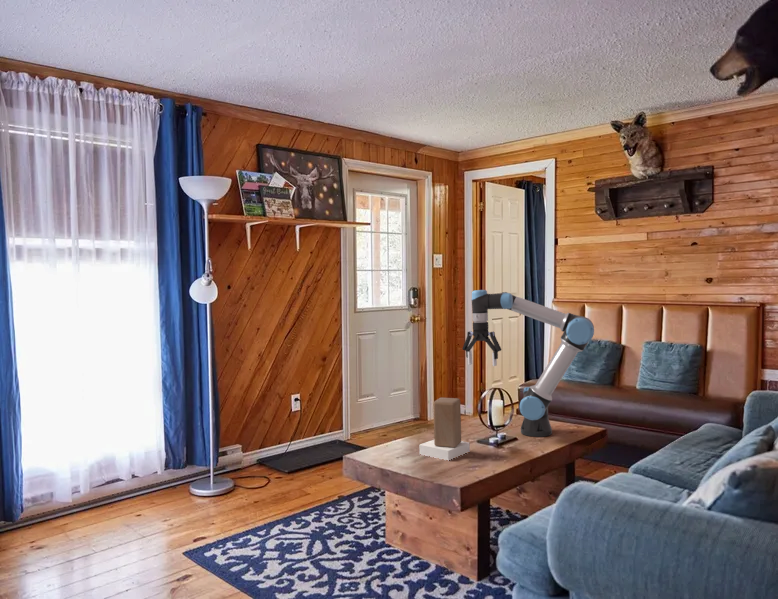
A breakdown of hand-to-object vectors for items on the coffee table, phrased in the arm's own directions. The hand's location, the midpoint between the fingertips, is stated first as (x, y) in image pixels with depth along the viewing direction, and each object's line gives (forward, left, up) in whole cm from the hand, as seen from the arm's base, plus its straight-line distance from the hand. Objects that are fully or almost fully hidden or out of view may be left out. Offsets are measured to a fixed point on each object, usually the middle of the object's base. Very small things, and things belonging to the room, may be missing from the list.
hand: (482, 365), depth 298 cm
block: (-3, +34, -31) cm, 46 cm away
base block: (-1, +33, -36) cm, 49 cm away
